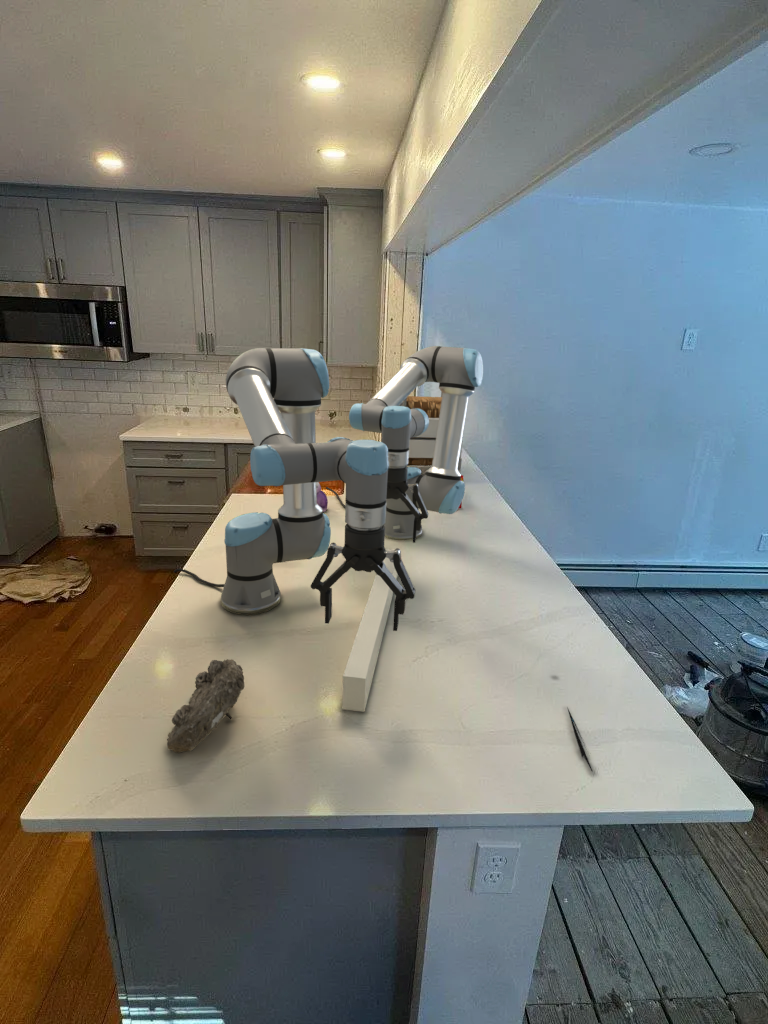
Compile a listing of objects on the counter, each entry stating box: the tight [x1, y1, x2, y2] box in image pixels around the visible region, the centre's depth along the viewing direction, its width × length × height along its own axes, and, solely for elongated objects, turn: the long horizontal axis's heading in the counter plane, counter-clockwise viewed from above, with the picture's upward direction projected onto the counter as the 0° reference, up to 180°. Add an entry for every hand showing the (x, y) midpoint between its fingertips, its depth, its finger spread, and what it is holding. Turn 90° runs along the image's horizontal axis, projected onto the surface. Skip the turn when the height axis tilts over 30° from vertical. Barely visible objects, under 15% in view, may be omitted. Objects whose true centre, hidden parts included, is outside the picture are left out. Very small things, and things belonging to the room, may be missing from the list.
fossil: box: [166, 658, 245, 754], centre depth 106 cm, size 22×10×15 cm
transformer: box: [400, 391, 465, 475], centre depth 268 cm, size 34×33×41 cm
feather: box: [554, 675, 593, 772], centre depth 111 cm, size 2×28×2 cm
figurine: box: [316, 482, 329, 513], centre depth 216 cm, size 9×10×15 cm
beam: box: [341, 548, 399, 713], centre depth 140 cm, size 63×4×8 cm, turn 173°
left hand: (361, 623), depth 113 cm, fingers open, 13 cm apart
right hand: (390, 538), depth 159 cm, fingers open, 13 cm apart
